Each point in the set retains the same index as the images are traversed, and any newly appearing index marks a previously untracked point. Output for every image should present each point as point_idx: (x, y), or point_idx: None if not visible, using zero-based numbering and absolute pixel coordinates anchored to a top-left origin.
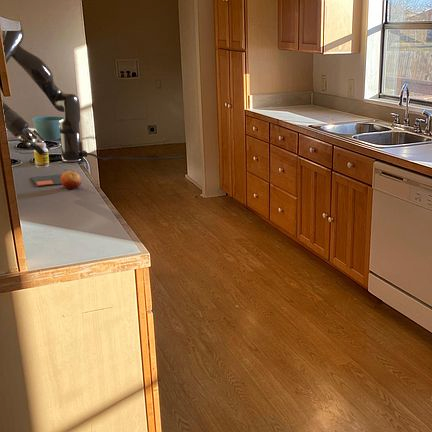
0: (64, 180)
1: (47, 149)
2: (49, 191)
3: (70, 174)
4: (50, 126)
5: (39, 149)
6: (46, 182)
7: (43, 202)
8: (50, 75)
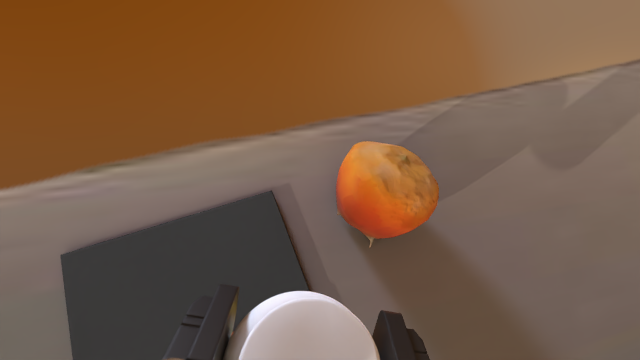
0: (435, 207)
1: (302, 292)
2: (434, 297)
3: (413, 170)
4: None
5: (426, 357)
6: None
7: (602, 284)
8: None
